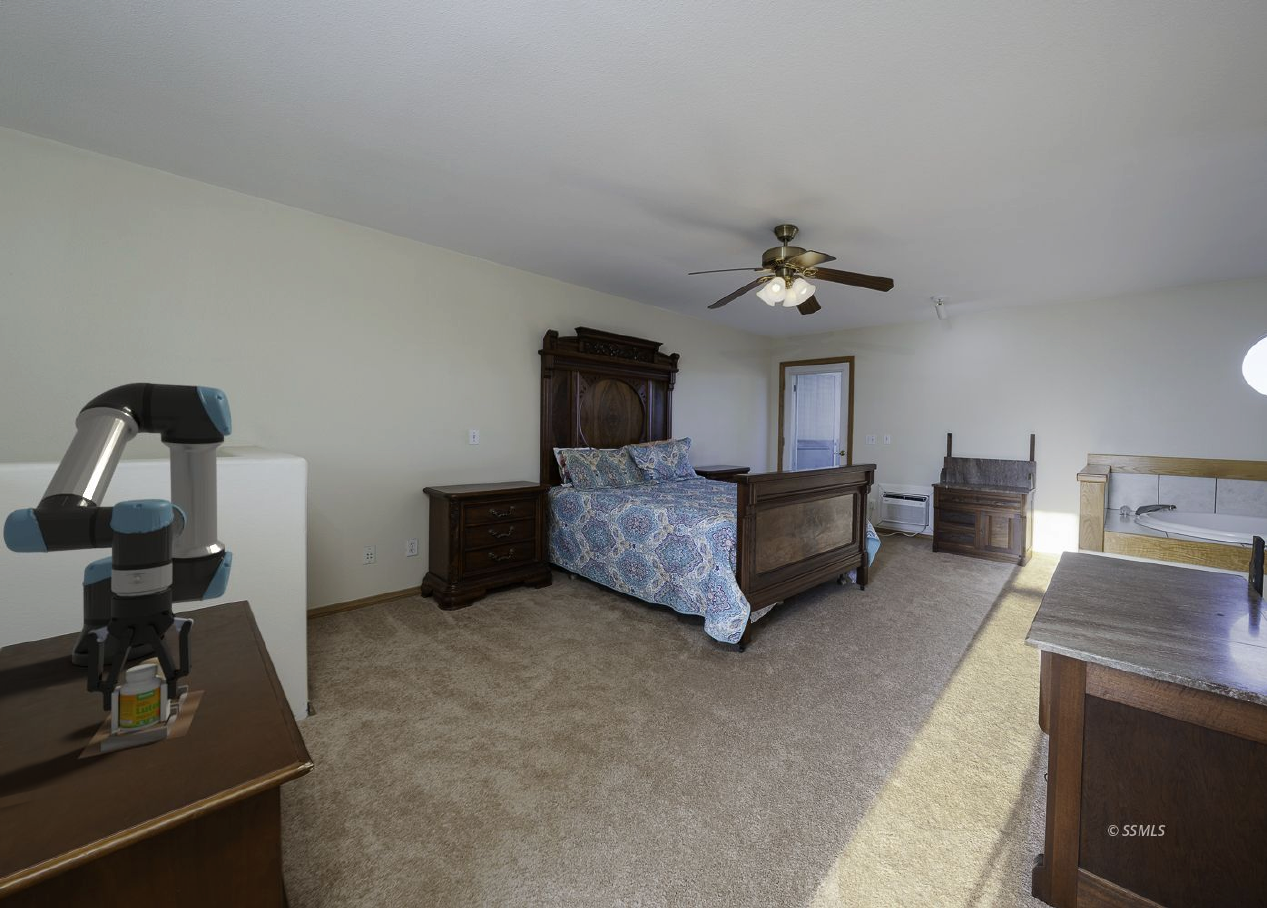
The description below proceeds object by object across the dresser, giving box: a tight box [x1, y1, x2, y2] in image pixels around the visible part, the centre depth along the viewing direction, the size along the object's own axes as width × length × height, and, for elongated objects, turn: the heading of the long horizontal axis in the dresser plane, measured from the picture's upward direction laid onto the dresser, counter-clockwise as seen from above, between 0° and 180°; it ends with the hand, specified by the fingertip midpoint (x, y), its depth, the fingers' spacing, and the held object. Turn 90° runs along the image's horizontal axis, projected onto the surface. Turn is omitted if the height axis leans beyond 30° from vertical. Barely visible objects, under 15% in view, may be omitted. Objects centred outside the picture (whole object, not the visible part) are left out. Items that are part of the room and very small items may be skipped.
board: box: [77, 684, 205, 760], centre depth 91 cm, size 18×13×3 cm
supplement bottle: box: [119, 664, 163, 732], centre depth 87 cm, size 5×5×10 cm
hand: (141, 721), depth 87 cm, fingers closed on supplement bottle, 5 cm apart
